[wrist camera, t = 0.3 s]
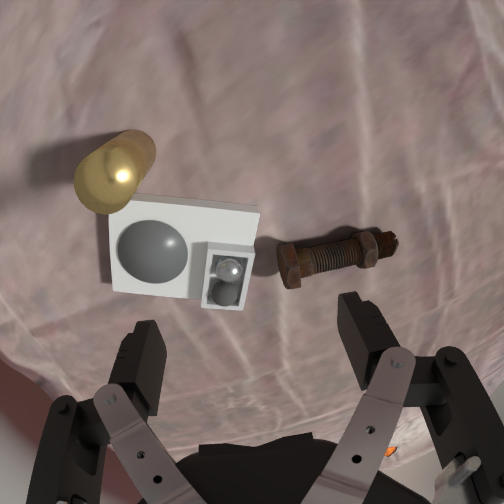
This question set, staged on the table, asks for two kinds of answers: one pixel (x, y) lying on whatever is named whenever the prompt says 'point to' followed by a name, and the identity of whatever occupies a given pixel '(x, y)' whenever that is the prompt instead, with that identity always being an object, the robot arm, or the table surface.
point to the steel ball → (228, 269)
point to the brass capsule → (114, 172)
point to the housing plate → (180, 246)
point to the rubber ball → (224, 293)
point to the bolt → (334, 256)
